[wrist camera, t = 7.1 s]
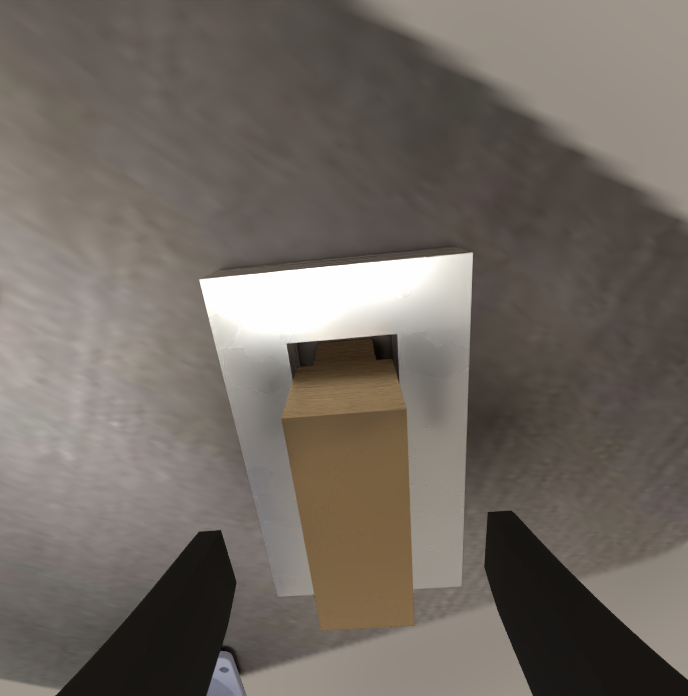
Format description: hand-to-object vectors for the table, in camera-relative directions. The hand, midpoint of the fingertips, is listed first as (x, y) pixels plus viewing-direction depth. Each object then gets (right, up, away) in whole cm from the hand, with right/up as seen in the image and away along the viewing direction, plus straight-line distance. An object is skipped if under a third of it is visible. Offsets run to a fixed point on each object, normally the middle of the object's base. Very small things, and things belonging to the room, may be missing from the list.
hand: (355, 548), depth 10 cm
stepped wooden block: (0, +2, +5) cm, 5 cm away
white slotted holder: (0, +2, +5) cm, 5 cm away
